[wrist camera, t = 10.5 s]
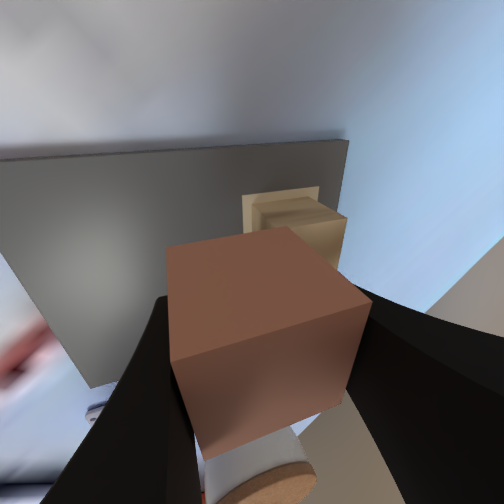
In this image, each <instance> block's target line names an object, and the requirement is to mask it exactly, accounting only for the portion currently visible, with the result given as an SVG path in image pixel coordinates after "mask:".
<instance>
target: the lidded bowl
mask: <svg viewBox="0 0 504 504" xmlns="http://www.w3.org/2000/svg"><path fill="white" fill-rule="evenodd" d="M316 482H317V476H316V474H315V471H314V469H313V467H312V465H311V464H310V463H309V461H308V458H307V456H306V454H305V452H304V449H303V447H302V445H301V443H300V441H299V439H298V438H297V436H296V434H295V433H294V431H293V430H292V428H291V427H290V425H289V426H287V427H285V428H282V429H280V430H277V431H275V432H273V433H270V434H268V435H266V436H263V437H261V438H258V439H256V440H254V441H251V442H249V443H247V444H244V445H242V446H239V447H237V448H235V449H232V450H230V451H228V452H225V453H223V454H220V455H218V456H216V457H213V458H211V459H208V460H206V461H205V474H204V487H205V501H206V504H298V503H299V502H300V501H301V500H303V499H304V498H305V497H306V496H307V495H308V494H309V493H310V492H311V490H312V489H313V488H314V486H315V484H316Z"/></svg>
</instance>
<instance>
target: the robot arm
mask: <svg viewBox="0 0 504 504" xmlns="http://www.w3.org/2000/svg"><path fill="white" fill-rule="evenodd" d="M353 285H354V284H353ZM354 286H356V285H354ZM356 287H357V288H358V289H359V290H360V291H361V292H362V293H363V294H365V295H366V296H367V297H368V298H369V299H370V300H371V301H373V302H372V305H371V308H370V312H369V315H368V318H367V321H366V324H365V328H364V331H363V334H362V337H361V341H360V344H359V347H358V350H357V353H356V357H355V360H354V363H353V366H352V370H351V373H350V376H349V379H348V382H347V386H346V390H347V392H348V394H349V395H350V397H351V399H352V401H353V402H354V404H355V406H356V408H357V410H358V411H359V413H360V415H361V417H362V419H363V420H364V422H365V424H366V426H367V428H368V430H369V431H370V433H371V435H372V437H373V439H374V441H375V443H376V445H377V447H378V449H379V451H380V452H381V455H382V457H383V458H384V460H385V462H386V464H387V466H388V468H389V470H390V472H391V474H392V476H393V478H394V480H395V482H396V484H397V486H398V489H399V491H400V493H401V495H402V497H403V499H404V501H405V503H406V504H504V337H500V336H496V335H493V334H489V333H485V332H481V331H478V330H474V329H471V328H468V327H464V326H461V325H457V324H454V323H451V322H448V321H444V320H441V319H438V318H435V317H432V316H429V315H427V314H424V313H421V312H418V311H416V310H413V309H410V308H407V307H405V306H402V305H400V304H397V303H395V302H392V301H390V300H388V299H385V298H383V297H380V296H378V295H376V294H374V293H371V292H369V291H367V290H365V289H363V288H360V287H358V286H356ZM85 418H86V420H87V421H88V422H89V424H90V425H91V426H92V427H91V429H90V431H89V432H88V434H87V435H86V437H85V438H84V440H83V441H82V443H81V444H80V446H79V447H78V449H77V450H76V452H75V453H74V455H73V456H72V458H71V459H70V461H69V462H68V464H67V465H66V467H65V468H64V470H63V471H62V473H61V474H60V475H59V477H58V478H57V480H56V481H55V483H54V484H53V486H52V487H51V488H50V490H49V491H48V493H47V494H46V495H45V497H44V498H43V500H42V501H41V502H40V504H202V496H201V488H200V480H199V472H198V464H197V456H196V448H195V436H194V430H193V427H192V424H191V421H190V418H189V415H188V412H187V409H186V407H185V404H184V401H183V398H182V395H181V392H180V389H179V386H178V383H177V380H176V377H175V374H174V371H173V369H172V366H171V363H170V341H169V316H168V295H165V296H161V297H158V298H157V300H156V301H155V304H154V307H153V310H152V313H151V315H150V318H149V320H148V323H147V325H146V328H145V330H144V332H143V334H142V337H141V339H140V341H139V343H138V345H137V347H136V349H135V352H134V354H133V356H132V358H131V360H130V361H129V363H128V365H127V367H126V369H125V371H124V373H123V375H122V376H121V378H120V380H119V382H118V384H117V386H116V388H115V389H114V391H113V393H112V394H111V396H110V398H109V400H108V401H107V403H106V405H105V406H102V407H99V408H96V409H92V410H90V411H88V412H87V413H86V415H85Z"/></svg>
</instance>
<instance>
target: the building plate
mask: <svg viewBox="0 0 504 504" xmlns="http://www.w3.org/2000/svg"><path fill="white" fill-rule="evenodd" d="M348 145H349V140H343V139H334V140H317V141H301V142H284V143H268V144H251V145H235V146H219V147H202V148H186V149H169V150H153V151H136V152H120V153H103V154H87V155H70V156H54V157H38V158H21V159H5V160H0V252H1V254H2V255H3V257H4V258H5V260H6V261H7V263H8V264H9V266H10V267H11V269H12V270H13V272H14V273H15V275H16V277H17V278H18V280H19V281H20V283H21V284H22V286H23V287H24V289H25V290H26V292H27V293H28V295H29V296H30V298H31V299H32V301H33V302H34V304H35V305H36V307H37V308H38V310H39V311H40V313H41V314H42V316H43V317H44V319H45V321H46V322H47V324H48V325H49V327H50V328H51V330H52V331H53V333H54V334H55V336H56V337H57V339H58V340H59V342H60V343H61V345H62V346H63V348H64V349H65V351H66V352H67V354H68V355H69V357H70V358H71V360H72V361H73V363H74V364H75V366H76V368H77V369H78V371H79V372H80V374H81V375H82V377H83V378H84V380H85V381H86V383H87V384H88V386H89V387H90V389H91V388H95V387H98V386H102V385H105V384H108V383H112V382H115V381H119V380H120V378H121V376H122V375H123V373H124V371H125V369H126V367H127V365H128V363H129V361H130V360H131V358H132V356H133V354H134V352H135V349H136V347H137V345H138V343H139V341H140V339H141V337H142V334H143V332H144V330H145V328H146V325H147V323H148V320H149V318H150V315H151V313H152V310H153V307H154V304H155V301H156V300H157V298H158V297H161V296H165V295H168V292H167V267H166V247H171V246H176V245H182V244H188V243H193V242H199V241H204V240H210V239H216V238H221V237H227V236H233V235H238V234H244V233H249V232H252V210H251V204H255V203H263V202H270V201H278V200H285V199H292V198H300V197H307V196H309V197H310V198H312V199H314V200H316V201H318V202H319V203H321V204H323V205H325V206H327V207H328V208H330V209H332V210H334V211H336V212H337V208H338V202H339V197H340V191H341V185H342V179H343V174H344V168H345V162H346V156H347V151H348Z"/></svg>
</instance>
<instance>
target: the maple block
mask: <svg viewBox="0 0 504 504" xmlns="http://www.w3.org/2000/svg"><path fill="white" fill-rule="evenodd" d="M251 210H252V232H255V231H261V230H266V229H272V228H278V227H283V226H287V227H289V228H290V229H291V230H292V231H293V232H294V233H295V234H297V235H298V236H299V237H300V238H301V239H302V240H303V241H304V242H306V243H307V244H308V245H309V246H310V247H311V248H312V249H314V250H315V251H316V252H317V253H318V254H319V255H320V256H321V257H323V258H324V259H325V260H326V261H327V262H328V263H329V264H331V265H332V266H333V267H334V268H335V269H336V270H337V268H338V263H339V258H340V253H341V248H342V243H343V238H344V233H345V228H346V223H347V217H345V216H343V215H341V214H339V213H338V212H336V211H334V210H332V209H330V208H328V207H327V206H325V205H323V204H321V203H319V202H318V201H316V200H314V199H312V198H310V197H309V196H307V197H300V198H292V199H285V200H278V201H270V202H263V203H255V204H251Z"/></svg>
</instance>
